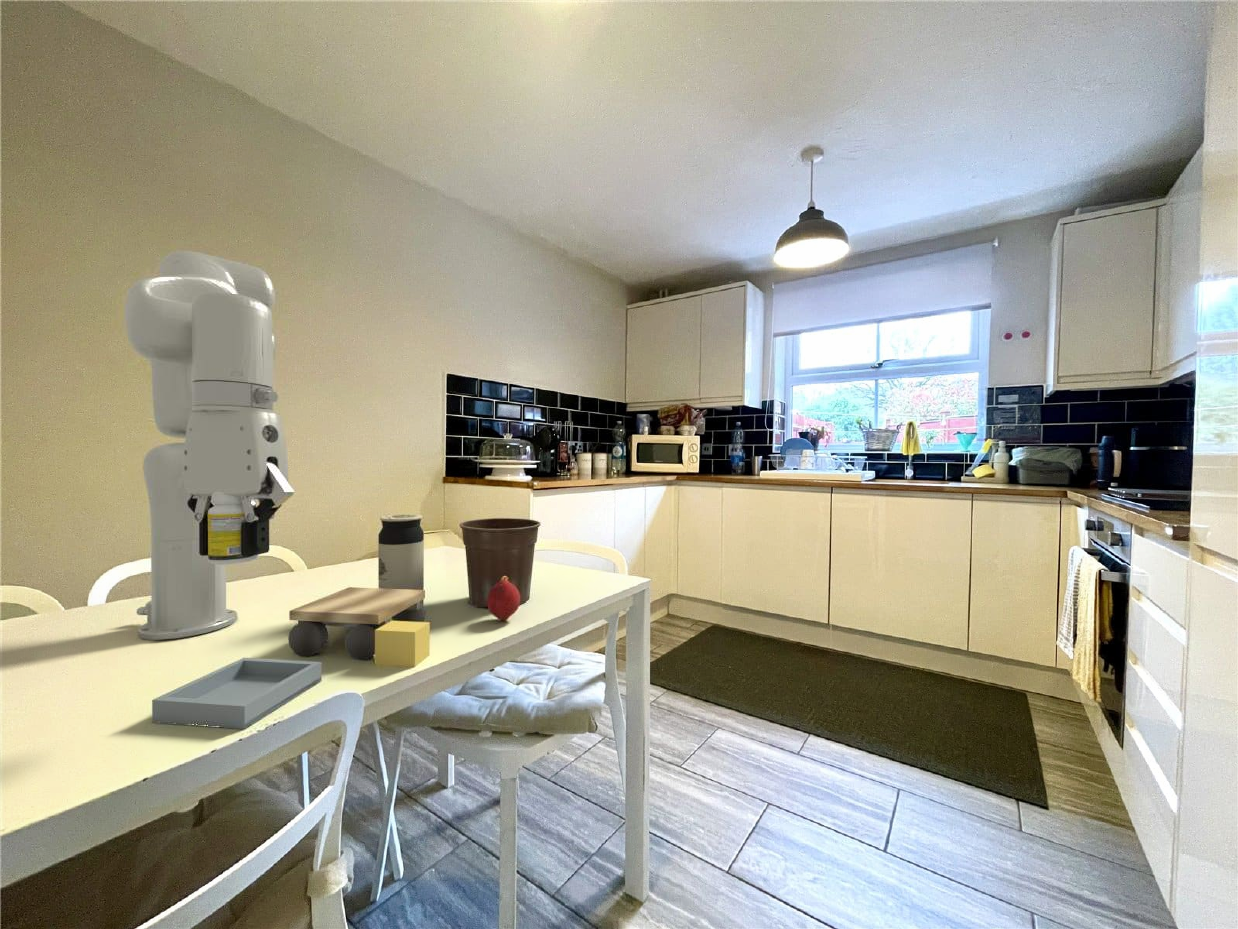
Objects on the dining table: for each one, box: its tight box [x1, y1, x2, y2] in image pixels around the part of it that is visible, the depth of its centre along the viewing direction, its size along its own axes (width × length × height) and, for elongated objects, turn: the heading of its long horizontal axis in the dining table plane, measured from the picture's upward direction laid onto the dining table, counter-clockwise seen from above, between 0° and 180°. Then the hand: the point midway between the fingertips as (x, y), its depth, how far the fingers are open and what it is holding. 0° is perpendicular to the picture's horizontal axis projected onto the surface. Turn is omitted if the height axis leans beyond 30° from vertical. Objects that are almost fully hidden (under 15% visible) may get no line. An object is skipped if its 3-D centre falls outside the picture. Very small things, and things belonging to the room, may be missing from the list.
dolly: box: [288, 586, 427, 661], centre depth 75 cm, size 14×13×7 cm
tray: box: [151, 657, 322, 730], centre depth 57 cm, size 11×11×2 cm
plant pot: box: [459, 517, 542, 609], centre depth 98 cm, size 16×16×16 cm
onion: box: [486, 576, 521, 622], centre depth 85 cm, size 6×6×8 cm
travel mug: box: [377, 513, 425, 606], centre depth 92 cm, size 8×8×18 cm
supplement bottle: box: [208, 492, 260, 565], centre depth 56 cm, size 5×5×8 cm
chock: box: [374, 620, 431, 668], centre depth 69 cm, size 6×4×5 cm, turn 84°
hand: (235, 552), depth 56 cm, fingers closed on supplement bottle, 4 cm apart
